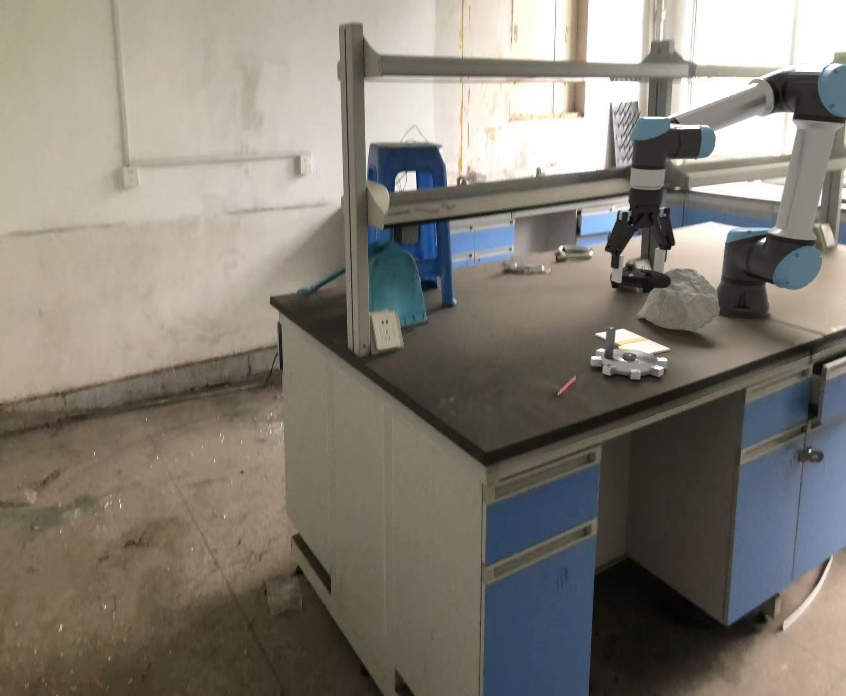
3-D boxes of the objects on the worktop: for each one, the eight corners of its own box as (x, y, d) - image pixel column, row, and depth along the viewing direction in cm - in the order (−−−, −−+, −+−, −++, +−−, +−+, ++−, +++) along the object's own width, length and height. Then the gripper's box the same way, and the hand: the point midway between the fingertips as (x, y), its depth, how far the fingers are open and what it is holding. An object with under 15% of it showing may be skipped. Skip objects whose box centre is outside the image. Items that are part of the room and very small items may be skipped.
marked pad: (622, 330, 203) (623, 328, 202) (669, 350, 188) (670, 348, 188) (594, 335, 199) (594, 333, 199) (640, 356, 185) (640, 354, 184)
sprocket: (587, 351, 186) (589, 316, 183) (659, 354, 184) (663, 318, 182) (594, 378, 170) (597, 339, 167) (673, 381, 169) (678, 342, 166)
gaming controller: (675, 268, 187) (659, 269, 179) (671, 293, 188) (656, 295, 181) (619, 261, 195) (602, 262, 188) (616, 285, 197) (599, 287, 189)
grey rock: (726, 336, 199) (734, 278, 194) (690, 345, 192) (697, 285, 187) (658, 313, 217) (664, 259, 212) (623, 320, 211) (628, 265, 205)
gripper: (674, 181, 189) (665, 269, 196) (593, 188, 179) (586, 280, 186) (698, 186, 183) (687, 276, 190) (615, 192, 173) (607, 288, 180)
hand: (637, 278), depth 188 cm, fingers closed on gaming controller, 12 cm apart
